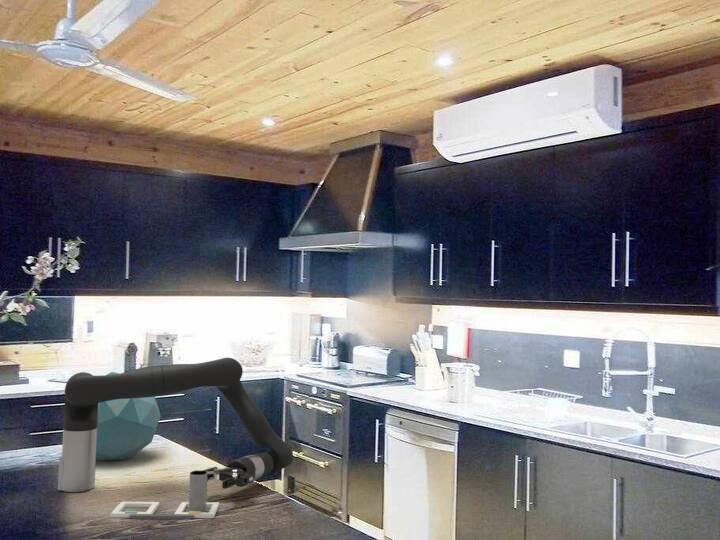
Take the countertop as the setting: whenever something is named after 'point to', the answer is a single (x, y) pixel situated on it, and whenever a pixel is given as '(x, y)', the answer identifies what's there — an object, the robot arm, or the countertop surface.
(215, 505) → the socket
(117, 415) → the sculpture
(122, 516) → the socket
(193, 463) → the countertop surface
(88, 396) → the robot arm
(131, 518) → the thin gray bar
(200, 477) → the planter
